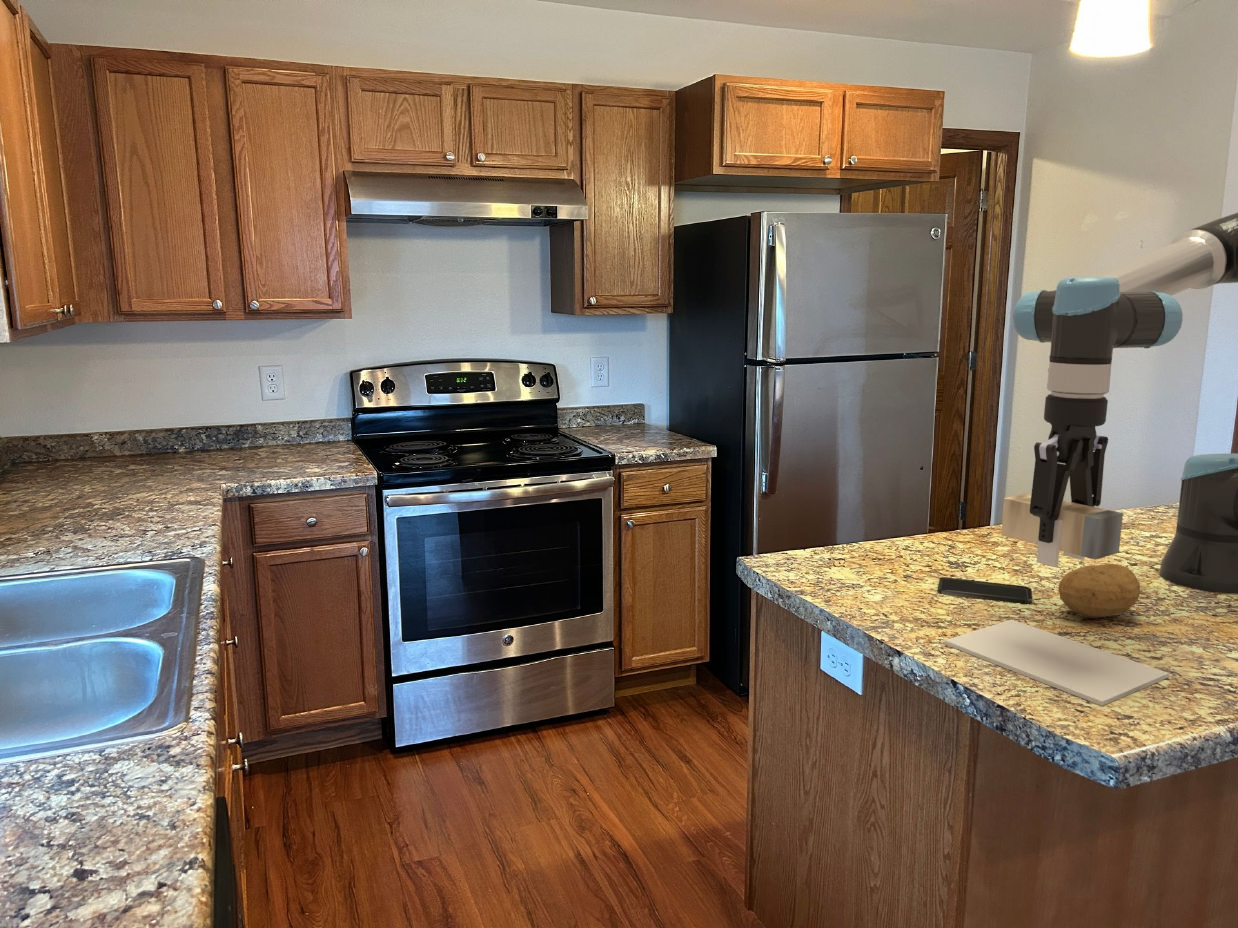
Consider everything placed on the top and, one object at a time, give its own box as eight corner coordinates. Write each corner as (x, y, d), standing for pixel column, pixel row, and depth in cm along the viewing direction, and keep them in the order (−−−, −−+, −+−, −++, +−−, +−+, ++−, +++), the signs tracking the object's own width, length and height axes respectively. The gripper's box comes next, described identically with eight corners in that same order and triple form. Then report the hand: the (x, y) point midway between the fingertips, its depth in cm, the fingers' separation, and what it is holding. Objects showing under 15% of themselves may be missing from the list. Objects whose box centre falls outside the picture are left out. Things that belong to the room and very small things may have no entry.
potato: (1037, 611, 149) (1041, 564, 148) (1100, 600, 155) (1104, 554, 153) (1088, 632, 141) (1093, 582, 139) (1152, 619, 146) (1158, 571, 144)
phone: (1032, 601, 152) (937, 589, 158) (1031, 607, 152) (936, 595, 158) (1031, 586, 159) (940, 576, 165) (1030, 592, 160) (939, 582, 165)
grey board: (944, 644, 136) (944, 640, 136) (1011, 622, 144) (1011, 619, 144) (1101, 705, 116) (1102, 701, 116) (1168, 677, 125) (1169, 673, 124)
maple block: (1027, 493, 134) (1122, 513, 122) (1024, 529, 135) (1118, 552, 123) (1004, 498, 131) (1099, 519, 119) (1001, 535, 132) (1095, 559, 120)
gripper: (1089, 387, 131) (1073, 544, 135) (1009, 396, 121) (995, 564, 126) (1142, 392, 125) (1124, 556, 129) (1062, 402, 115) (1045, 579, 119)
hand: (1060, 560), depth 127 cm, fingers closed on maple block, 5 cm apart
